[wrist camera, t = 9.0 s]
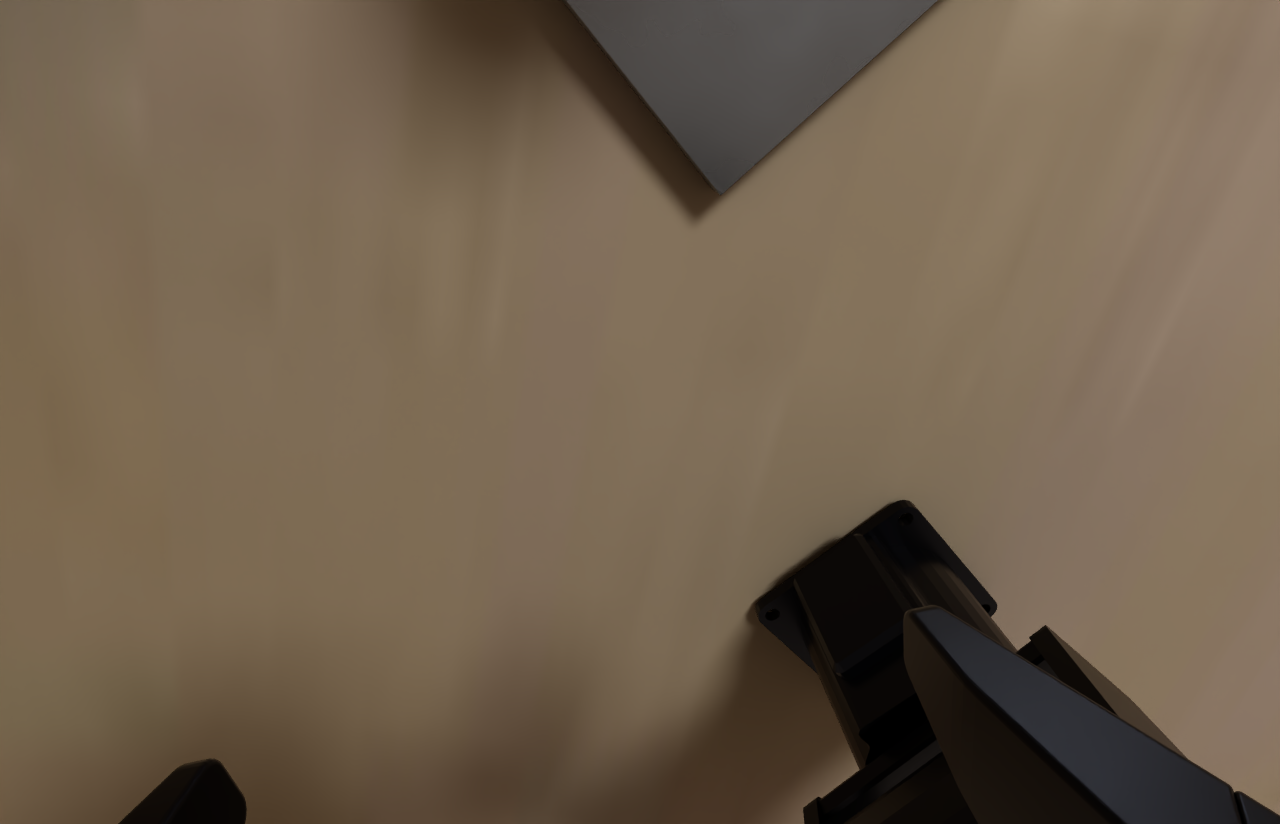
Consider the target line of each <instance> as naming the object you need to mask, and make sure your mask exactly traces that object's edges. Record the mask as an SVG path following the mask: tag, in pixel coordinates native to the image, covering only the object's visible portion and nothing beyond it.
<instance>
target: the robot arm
mask: <svg viewBox="0 0 1280 824" xmlns="http://www.w3.org/2000/svg"><path fill="white" fill-rule="evenodd" d="M905 513H907V515H906V516H905V517H904V518H902V519H899V517H900V516H901V515H903V514H905ZM981 605H982V606H981ZM771 609H775V610H774V611H772V612H768V611H769V610H771ZM996 610H997V604H996V602H995V600H994V599H993V598H992V597H991V596H990V594H989V593H988V592H987V591H986V590H985V588H984V587H983V586H982V585H981V584H980V583H979V581H978V580H977V579H976V578H975V577H974V575H973V574H972V573H971V572H970V571H969V570H968V568H967V567H966V566H965V565H964V564H963V562H962V561H961V560H960V559H959V558H958V556H957V555H956V554H955V553H954V552H953V551H952V549H951V548H950V547H949V546H948V545H947V543H946V542H945V541H944V540H943V539H942V537H941V536H940V535H939V534H938V533H937V532H936V530H935V529H934V528H933V527H932V526H931V524H930V523H929V522H928V521H927V520H926V519H925V517H924V516H923V515H922V514H921V513H920V511H919V510H918V509H917V508H916V507H915V505H914V504H913V503H911V502H910V501H907V500H900V501H897V502H895V503H893V504H892V505H890V506H889V507H887V508H886V509H885V510H883V511H882V512H880V513H879V514H878V515H876V516H875V517H874V518H872V519H871V520H869V521H868V522H867V523H865V524H864V525H863V526H861V527H860V528H858V529H857V530H856V531H854V532H853V533H852V534H850V535H849V536H847V537H846V538H845V539H843V540H842V541H840V542H839V543H838V544H836V545H835V546H834V547H832V548H831V549H829V550H828V551H827V552H825V553H824V554H823V555H821V556H820V557H818V558H817V559H816V560H814V561H813V562H812V563H810V564H809V565H807V566H806V567H805V568H803V569H802V570H800V571H799V572H798V573H796V574H795V575H794V576H792V577H791V578H789V579H788V580H787V581H785V582H784V583H783V584H781V585H780V586H778V587H777V588H776V589H774V590H773V591H771V592H770V593H769V594H767V595H766V596H765V597H763V598H762V599H761V600H760V601H759V602H758V603H757V605H756V613H757V616H758V619H759V621H760V622H761V623H762V624H763V625H764V626H765V627H766V628H767V629H768V630H769V631H771V632H772V633H773V634H774V635H775V636H776V637H777V638H778V639H779V640H781V641H782V642H783V643H784V644H785V645H786V646H787V647H788V648H789V649H791V650H792V651H793V652H794V653H795V654H796V655H797V656H798V657H799V658H801V659H802V660H803V661H804V662H805V663H806V664H807V665H808V666H809V667H811V668H812V669H813V670H814V671H815V672H816V673H817V674H818V675H819V677H820V680H821V682H822V684H823V687H824V689H825V691H826V694H827V696H828V698H829V700H830V703H831V705H832V707H833V710H834V712H835V714H836V717H837V719H838V721H839V723H840V726H841V728H842V730H843V733H844V735H845V737H846V740H847V742H848V744H849V746H850V749H851V751H852V753H853V756H854V758H855V760H856V763H857V765H858V767H859V769H860V770H859V771H858V772H856V773H855V774H854V775H852V776H851V777H850V778H848V779H847V780H846V781H844V782H843V783H842V784H840V785H839V786H838V787H836V788H835V789H834V790H832V791H831V792H830V793H828V794H827V795H826V796H824V797H823V798H820V797H817V798H816V799H814V800H813V801H812V802H810V803H809V804H808V805H807V806H805V807H804V808H803V813H804V824H1280V815H1278V814H1276V813H1275V812H1273V811H1272V810H1270V809H1268V808H1267V807H1265V806H1263V805H1262V804H1260V803H1259V802H1257V801H1255V800H1254V799H1252V798H1250V797H1249V796H1247V795H1246V794H1244V793H1242V792H1240V791H1236V792H1234V791H1233V789H1232V787H1231V786H1230V785H1229V784H1227V783H1226V782H1224V781H1222V780H1221V779H1219V778H1218V777H1216V776H1214V775H1213V774H1211V773H1209V772H1208V771H1206V770H1205V769H1203V768H1201V767H1200V766H1198V765H1196V764H1195V763H1193V762H1192V761H1190V760H1188V759H1187V758H1186V757H1185V756H1184V755H1183V753H1182V752H1181V751H1180V750H1179V749H1178V748H1177V747H1176V746H1175V745H1174V744H1173V743H1172V742H1171V741H1170V740H1169V739H1168V738H1167V737H1166V736H1165V735H1164V734H1163V733H1162V731H1161V730H1160V729H1159V728H1158V727H1157V726H1156V725H1155V724H1154V723H1153V722H1152V721H1151V720H1150V719H1149V718H1148V717H1147V716H1146V715H1145V714H1144V713H1143V712H1142V710H1141V709H1140V708H1139V707H1138V706H1137V705H1136V704H1135V703H1134V702H1133V701H1132V700H1131V699H1130V698H1129V697H1128V696H1127V695H1125V694H1124V693H1123V692H1122V691H1121V690H1120V689H1119V688H1117V687H1116V686H1115V685H1114V684H1113V683H1112V682H1111V681H1109V680H1108V679H1107V678H1106V677H1105V676H1104V675H1102V674H1101V673H1100V672H1099V671H1098V670H1097V669H1096V668H1094V667H1093V666H1092V665H1091V664H1090V663H1089V662H1088V661H1086V660H1085V659H1084V658H1083V657H1082V656H1081V655H1080V654H1078V653H1077V652H1076V651H1075V650H1074V649H1073V648H1072V647H1070V646H1069V645H1068V644H1067V643H1066V642H1065V641H1064V640H1062V639H1061V638H1060V637H1059V636H1058V635H1057V634H1056V633H1054V632H1053V631H1052V630H1051V629H1050V628H1049V627H1048V626H1046V625H1045V626H1044V627H1042V628H1041V629H1040V630H1038V631H1037V632H1036V633H1034V634H1033V635H1032V636H1030V637H1029V638H1030V640H1031V641H1030V642H1029V643H1028V644H1026V645H1025V646H1024V647H1022V648H1021V649H1020V650H1018V651H1017V650H1016V648H1015V647H1014V646H1013V645H1012V643H1011V642H1010V641H1009V640H1008V638H1007V637H1006V636H1005V635H1004V633H1003V632H1002V631H1001V630H1000V628H999V627H998V626H997V625H996V623H995V622H994V621H993V620H992V618H991V616H992V615H993V614H994V613H995V612H996ZM246 811H247V808H246V801H245V798H244V796H243V794H242V792H241V791H240V789H239V788H238V787H237V785H236V784H235V782H234V781H233V779H232V778H231V776H230V775H229V773H228V772H227V770H226V769H225V767H224V766H223V764H222V763H221V762H220V761H218V760H216V759H206V760H201V761H196V762H192V763H187V764H184V765H182V766H180V767H178V768H177V769H176V770H175V771H173V772H172V773H171V774H170V775H169V776H168V777H167V778H166V779H165V780H164V781H163V782H162V783H161V784H160V785H159V786H157V787H156V788H155V789H154V790H153V791H152V792H151V793H150V794H149V795H148V796H147V797H146V798H145V799H144V800H143V801H142V802H141V803H140V804H139V805H137V806H136V807H135V808H134V809H133V810H132V811H131V812H130V813H129V814H128V815H127V816H126V817H125V818H124V819H123V820H122V821H121V822H120V823H119V824H245V821H246Z"/></svg>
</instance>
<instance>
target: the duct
mask: <svg viewBox="0 0 1280 824" xmlns="http://www.w3.org/2000/svg"><path fill="white" fill-rule="evenodd" d="M562 1H563V2H564V3H565V4H566V6H567V7H568V8H569V10H570V11H571V12H572V13H573V15H574V16H575V17H576V18H577V20H578V21H579V22H580V23H581V25H582V26H583V27H584V28H585V30H586V31H587V32H588V33H589V35H590V36H591V37H592V38H593V40H594V41H595V42H596V43H597V45H598V46H599V47H600V48H601V50H602V51H603V52H604V54H605V55H606V56H607V57H608V59H609V60H610V61H611V62H612V64H613V65H614V66H615V67H616V69H617V70H618V71H619V72H620V74H621V75H622V76H623V77H624V79H625V80H626V81H627V82H628V84H629V85H630V86H631V87H632V89H633V90H634V91H635V92H636V94H637V95H638V96H639V97H640V99H641V100H642V101H643V103H644V104H645V105H646V106H647V108H648V109H649V110H650V111H651V113H652V114H653V115H654V116H655V118H656V119H657V120H658V121H659V123H660V124H661V125H662V126H663V128H664V129H665V130H666V131H667V133H668V134H669V135H670V136H671V138H672V139H673V140H674V141H675V143H676V144H677V145H678V146H679V148H680V149H681V150H682V152H683V153H684V154H685V155H686V157H687V158H688V159H689V160H690V162H691V163H692V164H693V165H694V167H695V168H696V169H697V170H698V172H699V173H700V174H701V175H702V177H703V178H704V179H705V180H706V182H707V183H708V184H709V185H710V187H711V188H712V189H713V190H714V191H716V192H717V193H718V194H720V195H722V194H723V193H724V192H725V191H726V190H727V189H728V188H729V187H731V186H732V185H733V184H734V183H735V182H736V181H737V180H738V179H739V178H741V177H742V176H743V175H744V174H745V173H746V172H747V171H748V170H750V169H751V168H752V167H753V166H754V165H755V164H756V163H757V162H758V161H760V160H761V159H762V158H763V157H764V156H765V155H766V154H767V153H768V152H770V151H771V150H772V149H773V148H774V147H775V146H776V145H777V144H778V143H780V142H781V141H782V140H783V139H784V138H785V137H786V136H787V135H788V134H790V133H791V132H792V131H793V130H794V129H795V128H796V127H797V126H798V125H800V124H801V123H802V122H803V121H804V120H805V119H806V118H807V117H808V116H810V115H811V114H812V113H813V112H814V111H815V110H816V109H817V108H818V107H820V106H821V105H822V104H823V103H824V102H825V101H826V100H827V99H828V98H830V97H831V96H832V95H833V94H834V93H835V92H836V91H837V90H839V89H840V88H841V87H842V86H843V85H844V84H845V83H846V82H847V81H849V80H850V79H851V78H852V77H853V76H854V75H855V74H856V73H857V72H859V71H860V70H861V69H862V68H863V67H864V66H865V65H866V64H867V63H869V62H870V61H871V60H872V59H873V58H874V57H875V56H876V55H877V54H879V53H880V52H881V51H882V50H883V49H884V48H885V47H886V46H887V45H889V44H890V43H891V42H892V41H893V40H894V39H895V38H896V37H897V36H899V35H900V34H901V33H902V32H903V31H904V30H905V29H906V28H907V27H909V26H910V25H911V24H912V23H913V22H914V21H915V20H916V19H917V18H919V17H920V16H921V15H922V14H923V13H924V12H925V11H926V10H928V9H929V8H930V7H931V6H932V5H933V4H934V3H935V2H936V1H938V0H562Z"/></svg>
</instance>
